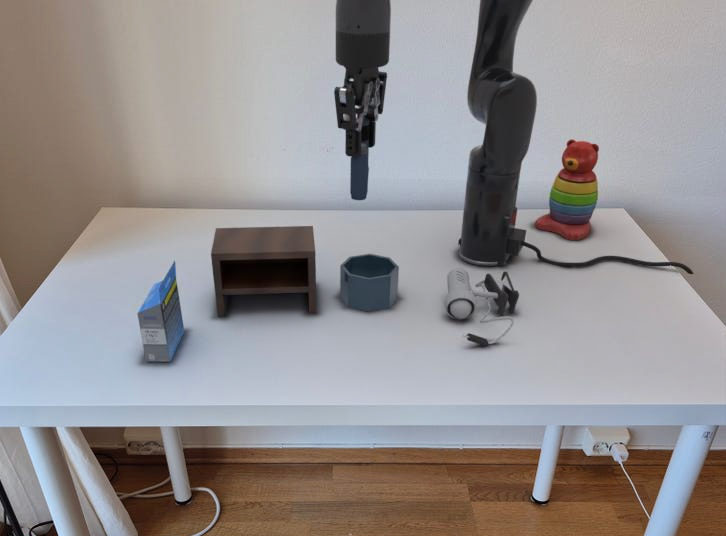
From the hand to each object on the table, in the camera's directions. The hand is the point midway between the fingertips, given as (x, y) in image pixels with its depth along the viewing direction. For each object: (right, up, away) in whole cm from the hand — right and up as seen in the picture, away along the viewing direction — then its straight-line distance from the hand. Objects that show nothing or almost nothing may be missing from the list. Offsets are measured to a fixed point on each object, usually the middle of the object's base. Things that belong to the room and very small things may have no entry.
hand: (360, 150), depth 106 cm
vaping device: (0, -6, +4) cm, 7 cm away
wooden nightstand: (-15, -21, +13) cm, 29 cm away
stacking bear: (+43, -4, +41) cm, 59 cm away
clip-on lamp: (+19, -25, +8) cm, 33 cm away
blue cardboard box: (-29, -30, +1) cm, 42 cm away
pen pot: (+2, -21, +14) cm, 25 cm away
